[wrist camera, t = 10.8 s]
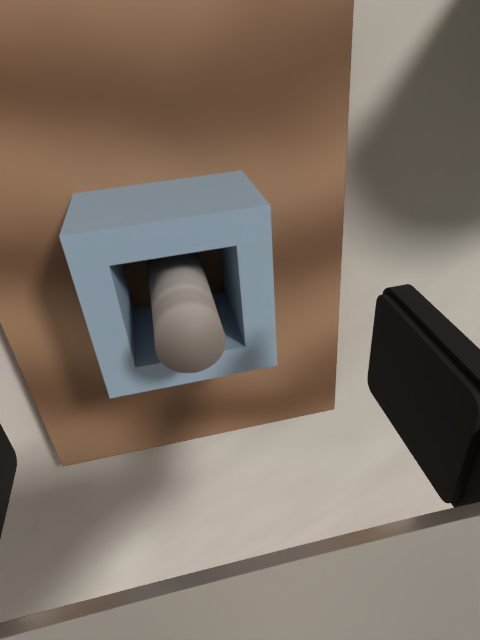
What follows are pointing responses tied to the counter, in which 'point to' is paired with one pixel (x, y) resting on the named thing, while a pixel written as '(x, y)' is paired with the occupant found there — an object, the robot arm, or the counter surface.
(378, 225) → the counter surface
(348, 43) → the shaft stand
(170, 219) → the collar
